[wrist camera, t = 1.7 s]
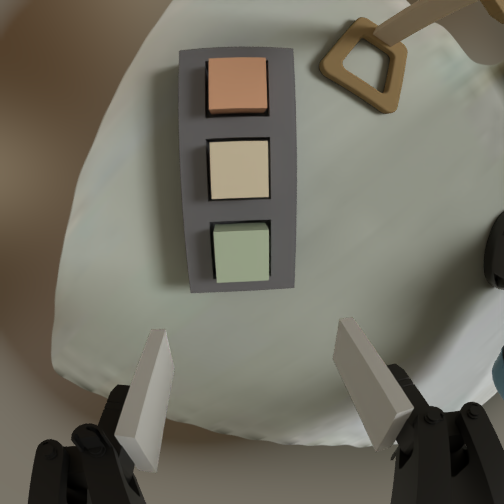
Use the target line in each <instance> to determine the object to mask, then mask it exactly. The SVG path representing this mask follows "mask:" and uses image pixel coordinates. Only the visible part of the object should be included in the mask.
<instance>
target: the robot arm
mask: <svg viewBox="0 0 504 504" xmlns="http://www.w3.org/2000/svg"><path fill="white" fill-rule="evenodd" d="M484 271H485V276H486V279H487V281H488V282H489V283H490V284H491V285H493V286H494V287H496V288H498V289H501V290H504V212H503V213H502V214H501V215H500V216H499V218H498V219H497V221H496V222H495V224H494V226H493V228H492V231H491V233H490V236H489V239H488V242H487V246H486V251H485V258H484ZM333 361H334V363H335V365H336V367H337V369H338V371H339V373H340V375H341V378H342V380H343V382H344V384H345V386H346V388H347V390H348V392H349V395H350V397H351V399H352V401H353V403H354V405H355V407H356V410H357V412H358V414H359V416H360V418H361V420H362V423H363V425H364V427H365V429H366V431H367V434H368V436H369V438H370V440H371V443H372V445H373V447H374V449H375V451H376V452H377V451H380V450H383V449H386V448H389V447H391V446H392V445H393V443H394V442H395V440H396V441H397V443H398V444H399V446H398V448H397V449H396V451H395V452H394V454H393V455H392V457H391V460H393V459H394V458H395V456H396V462H395V473H394V482H393V491H392V498H391V504H504V450H503V448H502V446H501V443H500V441H499V439H498V436H497V434H496V432H495V430H494V428H493V426H492V424H491V422H490V420H489V418H488V416H487V414H486V412H485V410H484V409H483V407H482V406H481V405H480V404H478V403H475V402H468V403H466V404H464V405H463V407H462V408H461V410H460V411H455V412H443V411H442V410H441V409H439V408H437V407H433V406H429V405H428V403H427V402H426V400H425V399H424V398H423V396H422V395H421V393H420V392H419V390H418V389H417V388H416V386H415V385H413V382H412V380H411V379H409V376H408V375H407V373H406V372H405V371H404V369H402V368H401V367H399V366H398V365H396V364H392V365H388V366H386V364H385V363H384V361H383V360H382V358H381V357H380V355H379V354H378V353H377V351H376V350H375V348H374V347H373V345H372V344H371V342H370V341H369V340H368V338H367V337H366V335H365V334H364V332H363V331H362V330H361V328H360V327H359V325H358V324H357V322H356V321H355V320H354V318H353V317H350V318H342V319H339V325H338V331H337V337H336V343H335V349H334V354H333ZM174 371H175V368H174V364H173V360H172V356H171V351H170V347H169V342H168V338H167V333H166V329H151V331H150V334H149V336H148V339H147V342H146V344H145V347H144V349H143V352H142V355H141V357H140V360H139V363H138V366H137V368H136V371H135V374H134V377H133V380H132V382H131V385H130V386H128V385H117V386H116V387H115V388H114V389H113V390H112V391H111V392H110V395H109V397H108V400H107V403H106V405H105V410H103V413H102V416H101V418H100V421H99V424H98V426H97V425H94V424H83V425H80V426H78V427H77V428H76V429H75V430H74V431H73V433H72V437H71V440H72V442H73V443H74V444H75V445H76V446H70V447H63V446H62V445H61V444H60V443H59V442H58V441H56V440H52V439H50V440H45V441H43V442H41V443H40V444H39V445H38V447H37V450H36V454H35V459H34V464H33V470H32V476H31V483H30V490H29V498H28V504H146V502H145V500H144V497H143V495H142V492H141V490H140V487H139V485H138V482H137V479H136V477H135V475H134V473H133V469H134V465H135V466H136V467H137V469H138V470H139V471H147V472H154V473H157V467H158V461H159V454H160V448H161V442H162V436H163V430H164V424H165V418H166V413H167V407H168V402H169V397H170V391H171V386H172V381H173V376H174ZM492 377H493V381H494V384H495V387H496V389H497V391H498V392H499V394H500V395H501V397H502V398H503V400H504V346H503V347H502V349H501V352H500V354H499V356H498V358H497V360H496V361H495V363H494V365H493V368H492ZM465 445H466V446H465Z"/></svg>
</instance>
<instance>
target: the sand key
mask: <svg viewBox="0 0 504 504" xmlns="http://www.w3.org/2000/svg"><path fill="white" fill-rule="evenodd" d="M210 170H211V194H212V199H225V198H251V197H269V180H268V141H231V142H210Z"/></svg>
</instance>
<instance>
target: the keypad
mask: <svg viewBox="0 0 504 504" xmlns="http://www.w3.org/2000/svg"><path fill="white" fill-rule="evenodd" d="M233 57H262V58H266V83H267V109H266V110H265V111H264V113H235V114H212V115H211V113H210V111H209V59H210V58H233ZM231 141H268V180H269V197H251V198H225V199H212V194H211V170H210V142H231ZM179 152H180V175H181V192H182V207H183V221H184V233H185V244H186V254H187V264H188V273H189V282H190V290H191V293H204V292H229V291H250V290H268V289H285V288H294V280H295V253H296V209H297V143H296V100H295V75H294V56H293V49H291V48H275V47H217V48H202V49H190V50H181V51H179ZM263 222H265V223H266V225H267V227H268V229H269V280H265V281H246V282H224V283H217V277H216V263H215V248H214V227H215V224H237V223H263Z"/></svg>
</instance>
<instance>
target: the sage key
mask: <svg viewBox="0 0 504 504" xmlns="http://www.w3.org/2000/svg"><path fill="white" fill-rule="evenodd" d="M214 248H215V263H216V277H217V283H224V282H246V281H265V280H269V229H268V227H267V225H266V223H265V222H263V223H237V224H215V227H214Z"/></svg>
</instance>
